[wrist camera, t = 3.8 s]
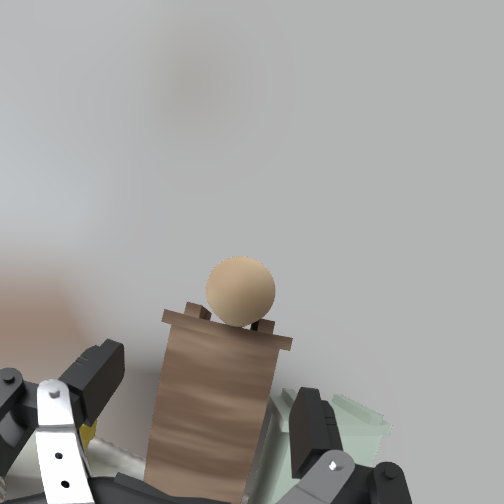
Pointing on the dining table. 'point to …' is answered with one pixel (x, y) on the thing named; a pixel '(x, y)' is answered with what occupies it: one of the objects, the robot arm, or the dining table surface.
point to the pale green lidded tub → (278, 443)
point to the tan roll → (240, 291)
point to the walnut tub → (210, 405)
